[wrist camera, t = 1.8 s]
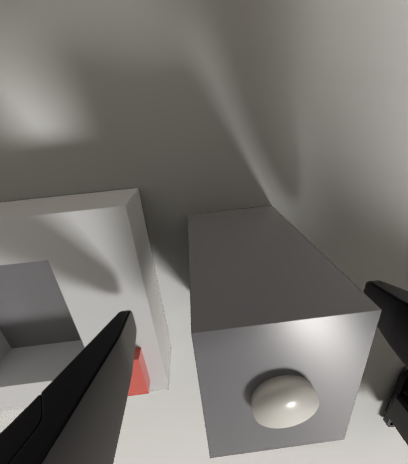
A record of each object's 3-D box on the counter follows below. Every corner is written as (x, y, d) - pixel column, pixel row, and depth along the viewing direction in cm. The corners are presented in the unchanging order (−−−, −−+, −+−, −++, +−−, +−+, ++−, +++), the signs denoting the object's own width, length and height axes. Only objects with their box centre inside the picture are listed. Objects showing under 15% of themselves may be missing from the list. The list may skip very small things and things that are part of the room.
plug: (271, 205, 11) (393, 320, 5) (268, 290, 13) (350, 452, 7) (187, 214, 11) (191, 346, 5) (198, 298, 13) (211, 471, 7)
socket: (138, 187, 10) (121, 211, 8) (171, 347, 15) (168, 401, 12) (-147, 217, 10) (-274, 253, 7) (-30, 372, 14) (-82, 434, 12)
